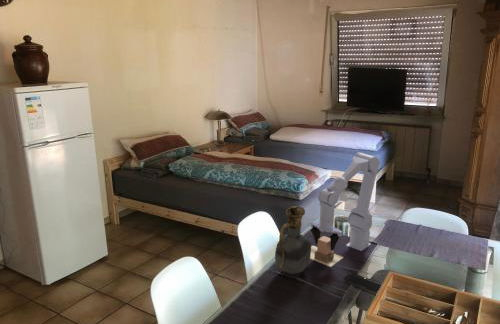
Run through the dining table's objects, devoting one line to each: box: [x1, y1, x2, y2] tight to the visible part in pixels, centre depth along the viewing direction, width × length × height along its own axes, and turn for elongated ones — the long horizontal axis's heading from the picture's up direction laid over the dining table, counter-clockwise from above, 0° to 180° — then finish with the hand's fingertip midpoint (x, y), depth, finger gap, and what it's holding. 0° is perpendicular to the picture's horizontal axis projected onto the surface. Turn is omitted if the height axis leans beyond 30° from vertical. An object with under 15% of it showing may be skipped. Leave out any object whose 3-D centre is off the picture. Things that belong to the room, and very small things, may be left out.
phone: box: [342, 272, 383, 295], centre depth 157 cm, size 8×1×15 cm
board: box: [310, 245, 344, 268], centre depth 178 cm, size 11×16×1 cm
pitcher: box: [274, 205, 312, 279], centre depth 159 cm, size 11×19×30 cm, turn 146°
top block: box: [316, 235, 333, 255], centre depth 174 cm, size 4×4×6 cm
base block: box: [314, 250, 335, 263], centre depth 175 cm, size 6×6×3 cm
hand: (324, 246), depth 174 cm, fingers open, 7 cm apart
